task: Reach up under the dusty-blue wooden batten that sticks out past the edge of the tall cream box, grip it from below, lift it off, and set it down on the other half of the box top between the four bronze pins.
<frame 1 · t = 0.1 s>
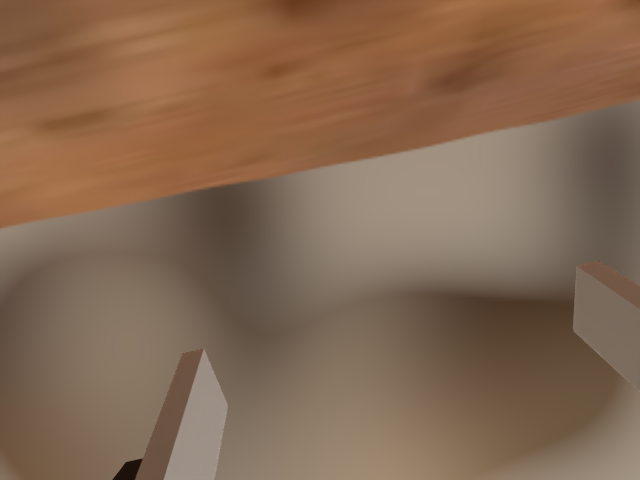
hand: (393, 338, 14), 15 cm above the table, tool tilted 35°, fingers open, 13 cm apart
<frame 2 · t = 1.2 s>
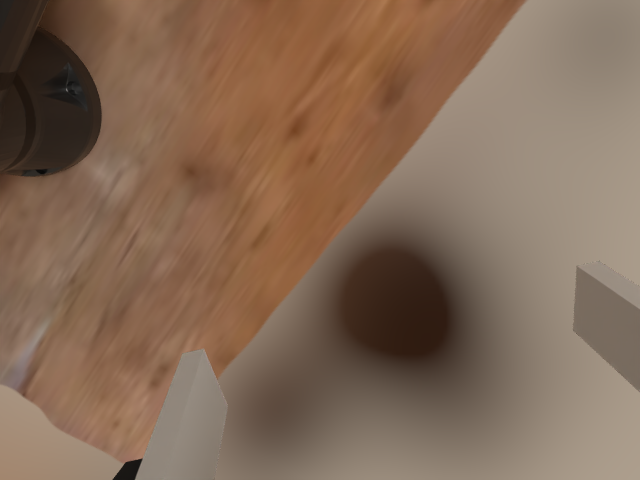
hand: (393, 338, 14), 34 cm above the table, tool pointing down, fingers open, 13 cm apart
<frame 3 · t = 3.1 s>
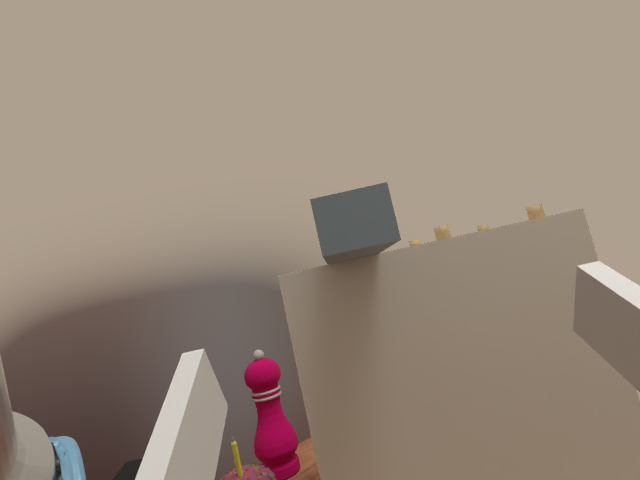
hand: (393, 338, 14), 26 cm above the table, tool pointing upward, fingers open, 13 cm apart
batten: (351, 260, 34), point 30 cm above the table, touching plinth
pepper mill: (281, 473, 65), on the table
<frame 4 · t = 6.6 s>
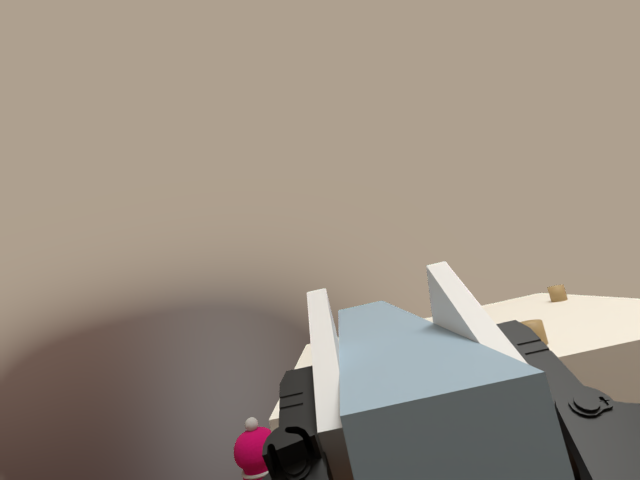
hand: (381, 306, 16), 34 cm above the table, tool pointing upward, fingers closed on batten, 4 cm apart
batten: (387, 376, 21), point 30 cm above the table, touching gripper, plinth
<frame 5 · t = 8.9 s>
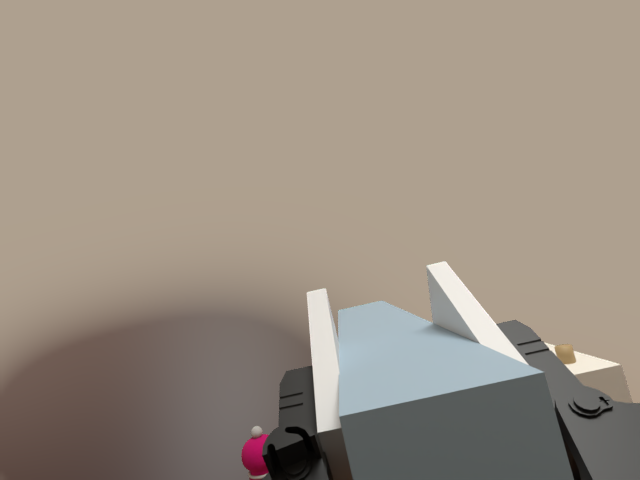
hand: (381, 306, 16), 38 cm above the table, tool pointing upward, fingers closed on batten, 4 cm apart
batten: (387, 376, 21), point 34 cm above the table, touching gripper
when the fingers open (36 cm above the table, at t = 11.4 s): batten drops 2 cm, resting on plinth.
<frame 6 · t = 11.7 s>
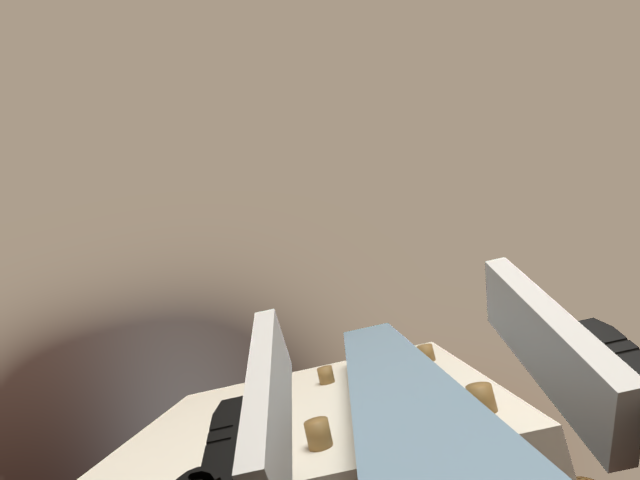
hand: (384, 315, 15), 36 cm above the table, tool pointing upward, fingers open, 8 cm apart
batten: (396, 415, 21), point 30 cm above the table, touching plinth
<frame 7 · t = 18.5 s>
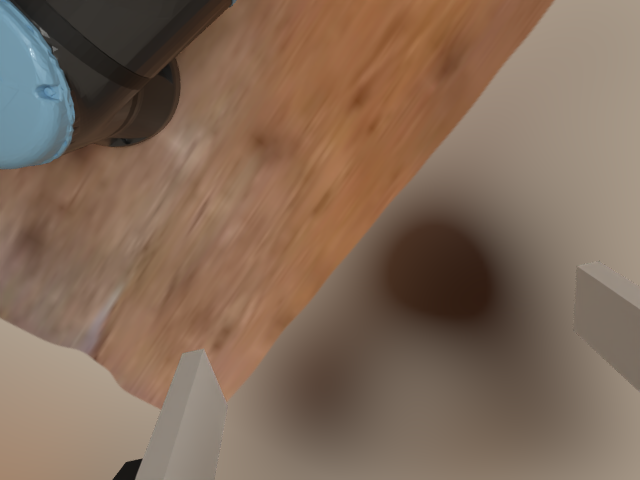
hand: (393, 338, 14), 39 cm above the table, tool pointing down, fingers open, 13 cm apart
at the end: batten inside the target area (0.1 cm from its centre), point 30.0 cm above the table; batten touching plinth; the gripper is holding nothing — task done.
